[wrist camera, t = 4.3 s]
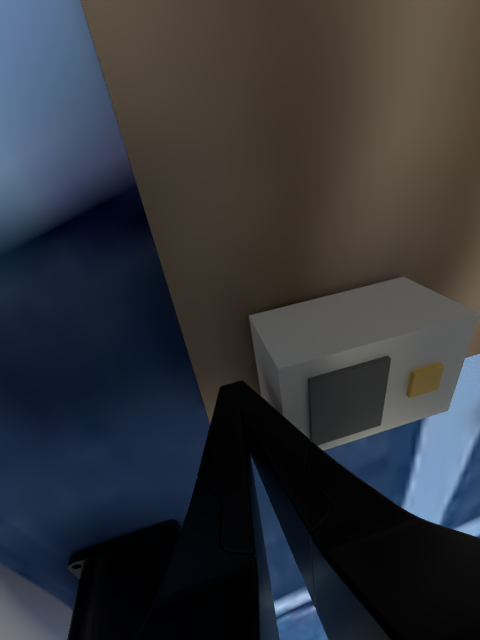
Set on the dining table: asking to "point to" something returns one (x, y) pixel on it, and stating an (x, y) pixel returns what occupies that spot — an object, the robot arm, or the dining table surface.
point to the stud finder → (361, 359)
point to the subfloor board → (296, 154)
